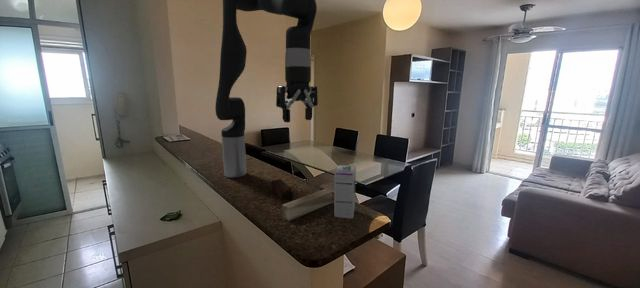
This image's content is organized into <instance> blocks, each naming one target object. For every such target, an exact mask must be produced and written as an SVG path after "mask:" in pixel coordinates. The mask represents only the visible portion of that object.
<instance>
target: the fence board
mask: <svg viewBox="0 0 640 288" xmlns="http://www.w3.org/2000/svg"><path fill="white" fill-rule="evenodd" d="M332 203H333V191H332V190H329V189H327V188H325V189H322V190H319V191H315V192H314V193H311V194H308V195H305V196H303V197H300V198H297V199H294V200H291V201H288V202H285V203H283V204H282V205H281V206H282V207H281V208H282V209H281V210H282V219H284V220H286V221H288V222H291V221H293V220H295V219H297V218H300V217H302V216H304V215H306V214H308V213H311V212H313V211H316V210H319V209H320V208H323V207H325V206H327V205H330V204H332Z"/></svg>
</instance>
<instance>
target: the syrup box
mask: <svg viewBox="0 0 640 288" xmlns="http://www.w3.org/2000/svg"><path fill="white" fill-rule="evenodd" d="M333 188H334V191H333V193H334V194H333V197H334V200H333V201H334V202H333V203H334V205H333V213H334V217H335V218H339V219H340V218H341V219H351V220H352V219H354V215H355V212H356V211H355V210H356V207H355V206H356V204H355V203H356V166H354V165H345V164H343V165H341V164H340V165H337V166H336V168H335V170H334V187H333Z"/></svg>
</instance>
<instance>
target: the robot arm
mask: <svg viewBox="0 0 640 288" xmlns="http://www.w3.org/2000/svg"><path fill="white" fill-rule="evenodd" d="M317 8H318V7H317V2H316V0H222V34H221V35H222V36H221V44H220V45H221V46H220V59H219V61H220V62H219V63H220V64H219V65H220V66H219V79H218V85H217V92H216V93H217V94H216V98H215V108H214V109H215V116H216V118H217V119H218V120H220V121H232V122H231V123H230V124H229V125H228V126H226V127H224V128H222V129H221V146H222V160H223V162H222V163H223V174H224V175H223V176H224V177H226V178H231V179H232V178H240V177H243V176H246V175H247V158H246V157H247V156H246V139H245V138H246V137H245V131H246V106H245V102H244V100H243V98H241V97H236V96H235V97H230V95H231V91H232V88H233V87H234V84H235V83H236V82H237V81H238V79H239V78H240V77H241V75H242V74H243V73H244V71H245V68H246V63H247V62H246V61H247V46H246V44H245V42H244V39H243V36H242V33H241V32H240V30H239V27H238V21H237V12H238V10H239V11H241V12H256V11H263V12H266V13H270V14H274V15H278V16H279V15H280V16H285V17H290V18H293V19H297V24H296V25H295V26H294V25H293V26H289V27H287V29H286V31H285V55H284V57H285V59H284V60H285V61H284V64H285V65H284V66H285V67H284V72H285V73H284V76H285V77H284V79H285V80H284V81H285V83H286V85H285V86H284V85H277V86H276V100H275V101H276V102H275V104H276V105H275V106H276V107H277V108H280V109H281V110H282V120H283V122H284V123H291V109H290V108H291V106H292V105H293V104H294V103H295V102H300V101H301V102H302V103H303V104H304V106H305V109H304V111H305V112H304V115H305V116H304V117H305V118H304V119H305V120H306V121H311V120H312V118H313V108H314V107H316V106H318V104H319V101H318V86H313V85H311V86H310V83H311V80H312V55H311V34H312V31H313V26H314V23H315V18H316V15H317Z"/></svg>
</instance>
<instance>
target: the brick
mask: <svg viewBox="0 0 640 288" xmlns="http://www.w3.org/2000/svg"><path fill="white" fill-rule="evenodd" d="M270 184H271V185H270V186H271V187H270V188H271V189H270V190H271V192H272V194H273V195H274V196H275V198H277V199H278V200H279V201H280V202H281V203H286V202H291V201H293V199H294V193H293V190H292V187H291V186H290V185H289V184H287V183H286V182H284V180H282V179H275V180H271V181H270Z"/></svg>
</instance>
